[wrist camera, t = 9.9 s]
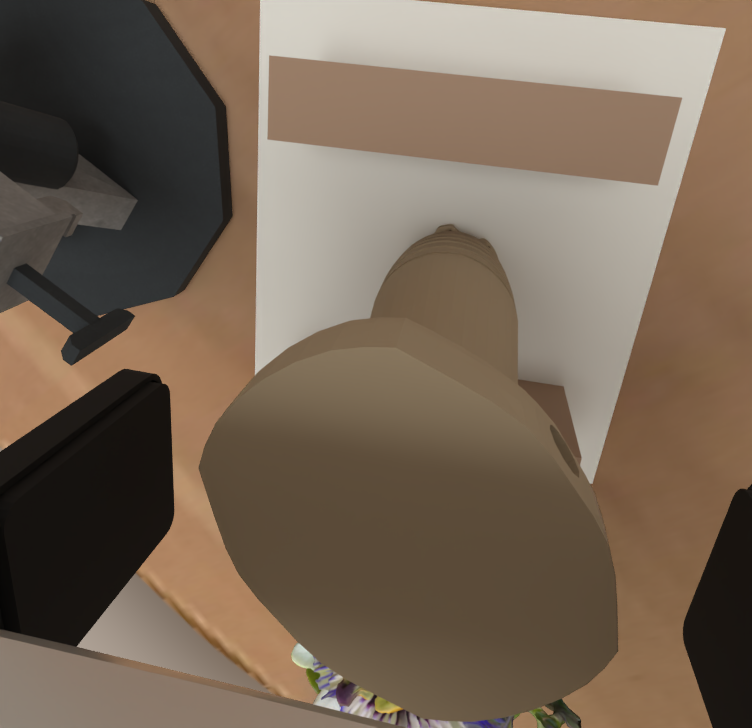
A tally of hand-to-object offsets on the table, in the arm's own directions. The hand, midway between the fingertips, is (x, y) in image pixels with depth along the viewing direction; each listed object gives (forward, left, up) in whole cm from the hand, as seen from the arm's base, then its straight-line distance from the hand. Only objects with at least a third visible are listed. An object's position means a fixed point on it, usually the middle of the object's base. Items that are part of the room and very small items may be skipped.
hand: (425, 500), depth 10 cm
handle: (0, 0, -13) cm, 13 cm away
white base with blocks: (+1, +1, -14) cm, 14 cm away
